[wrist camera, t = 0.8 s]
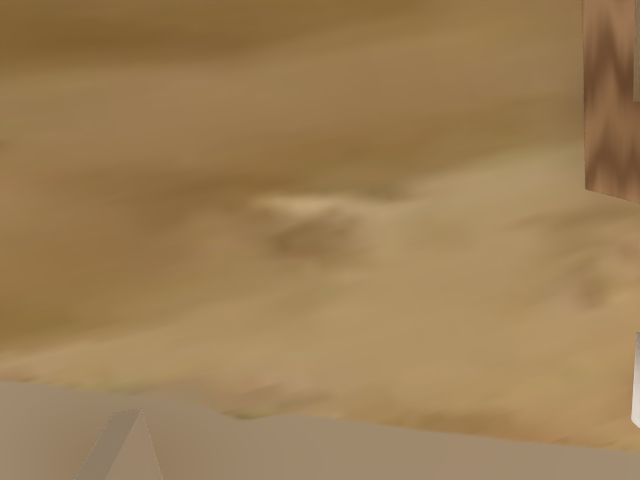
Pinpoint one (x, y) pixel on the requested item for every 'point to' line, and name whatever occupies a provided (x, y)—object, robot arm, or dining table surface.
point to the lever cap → (636, 52)
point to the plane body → (610, 100)
